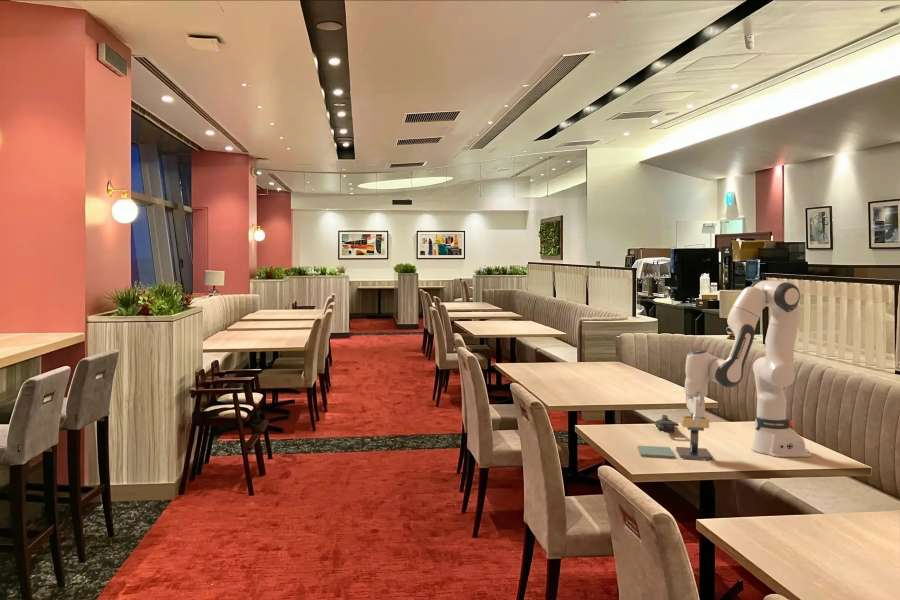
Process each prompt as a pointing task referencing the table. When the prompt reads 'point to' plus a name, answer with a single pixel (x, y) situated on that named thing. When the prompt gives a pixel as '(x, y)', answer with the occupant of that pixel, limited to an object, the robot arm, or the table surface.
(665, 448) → the rubber mat
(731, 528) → the table surface
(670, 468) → the table surface
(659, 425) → the zipper pull
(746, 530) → the table surface
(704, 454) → the pin stand
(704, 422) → the wooden rectangular frame
